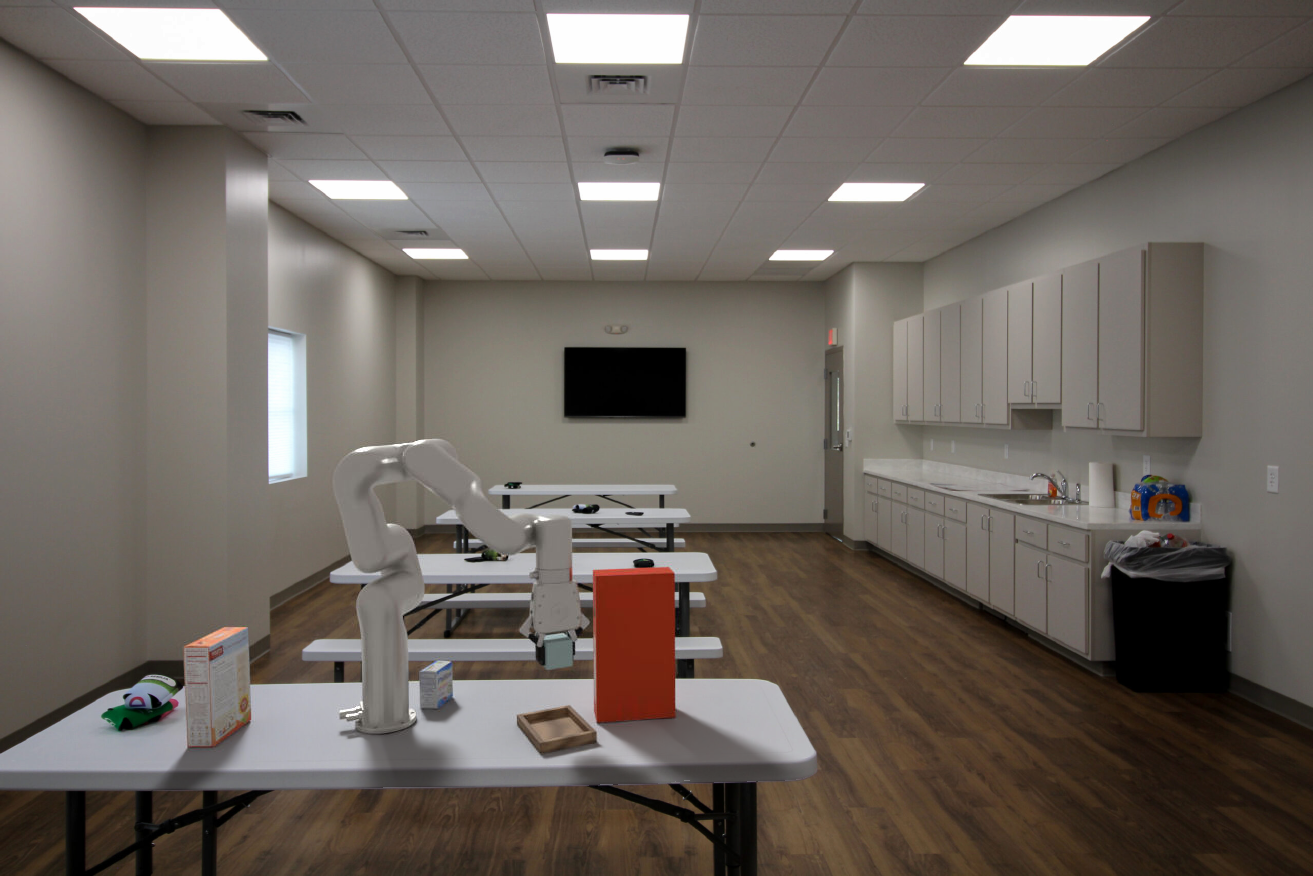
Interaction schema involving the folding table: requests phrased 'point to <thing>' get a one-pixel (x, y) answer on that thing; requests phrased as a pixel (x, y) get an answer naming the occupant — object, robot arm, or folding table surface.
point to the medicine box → (436, 684)
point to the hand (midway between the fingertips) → (555, 660)
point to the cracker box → (217, 686)
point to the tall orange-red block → (634, 643)
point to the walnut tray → (556, 729)
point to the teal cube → (558, 651)
